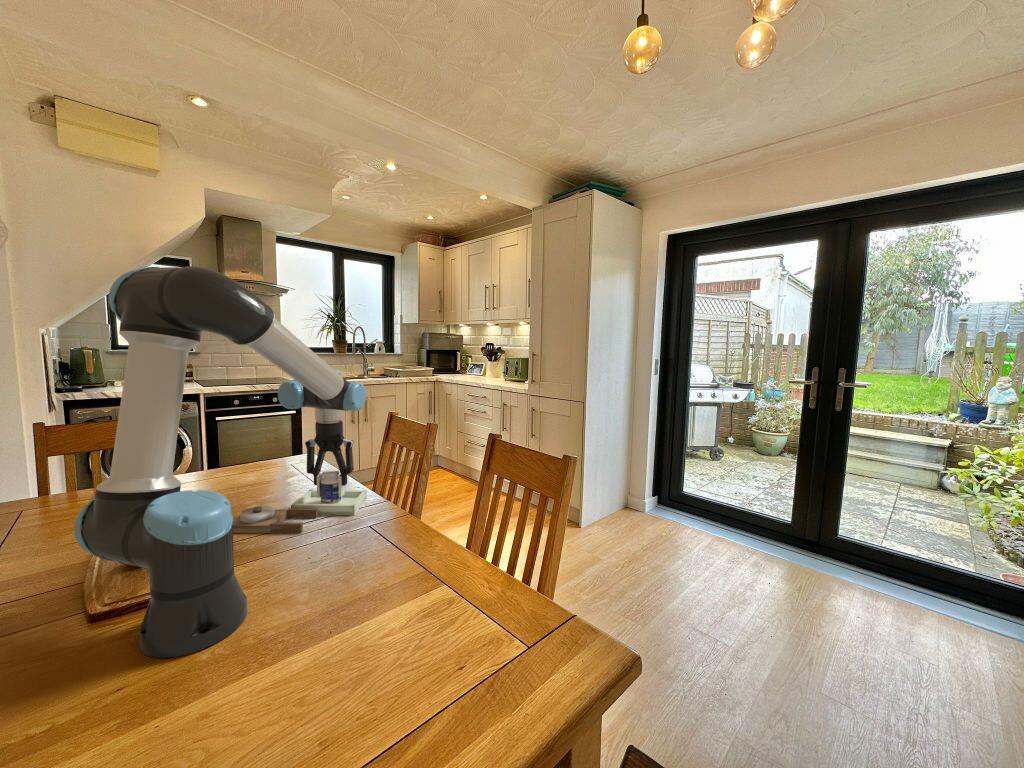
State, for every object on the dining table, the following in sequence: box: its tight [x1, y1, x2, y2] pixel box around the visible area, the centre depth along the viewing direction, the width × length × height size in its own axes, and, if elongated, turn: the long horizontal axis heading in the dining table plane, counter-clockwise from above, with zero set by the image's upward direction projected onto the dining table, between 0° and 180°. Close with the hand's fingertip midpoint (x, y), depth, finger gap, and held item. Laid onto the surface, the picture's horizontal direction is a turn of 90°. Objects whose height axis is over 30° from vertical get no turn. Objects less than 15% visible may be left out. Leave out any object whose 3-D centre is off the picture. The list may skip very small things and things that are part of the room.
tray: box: [290, 489, 368, 517], centre depth 124 cm, size 12×18×3 cm, turn 92°
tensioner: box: [233, 505, 319, 534], centre depth 112 cm, size 10×19×5 cm, turn 92°
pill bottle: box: [321, 468, 341, 504], centre depth 124 cm, size 6×6×10 cm
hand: (331, 495), depth 124 cm, fingers closed on pill bottle, 6 cm apart
